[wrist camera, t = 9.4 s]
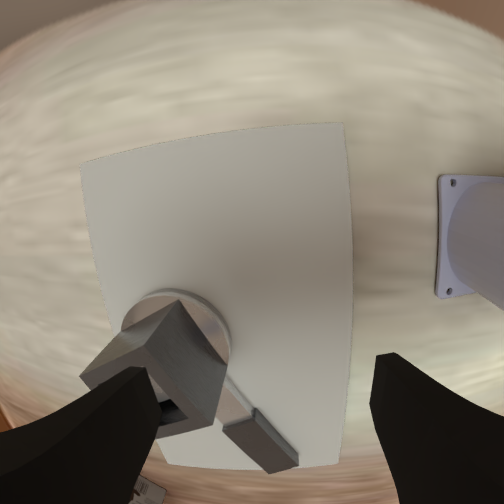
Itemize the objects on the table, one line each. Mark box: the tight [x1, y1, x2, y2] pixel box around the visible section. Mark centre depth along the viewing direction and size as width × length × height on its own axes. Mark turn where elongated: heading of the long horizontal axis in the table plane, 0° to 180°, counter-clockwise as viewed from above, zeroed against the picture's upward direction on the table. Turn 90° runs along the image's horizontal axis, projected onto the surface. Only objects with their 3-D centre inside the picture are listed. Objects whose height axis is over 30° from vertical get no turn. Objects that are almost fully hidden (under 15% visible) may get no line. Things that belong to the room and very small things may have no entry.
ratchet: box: [121, 288, 299, 474], centre depth 17 cm, size 7×18×5 cm, turn 31°
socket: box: [79, 299, 228, 439], centre depth 14 cm, size 5×5×5 cm
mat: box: [80, 122, 353, 470], centre depth 18 cm, size 16×27×1 cm, turn 6°
